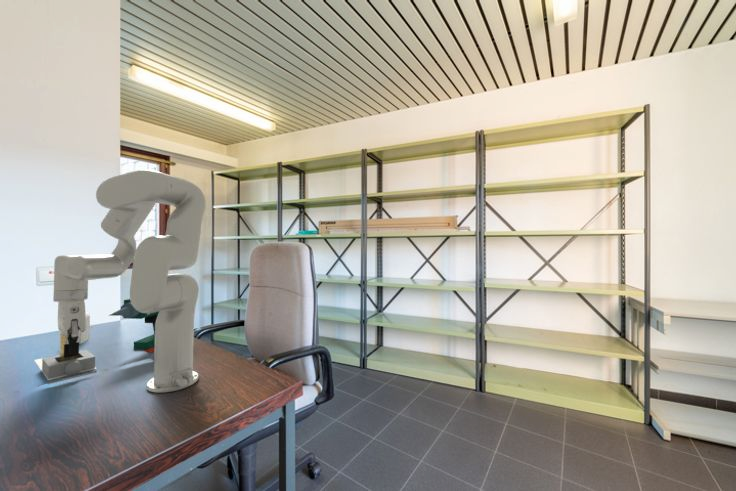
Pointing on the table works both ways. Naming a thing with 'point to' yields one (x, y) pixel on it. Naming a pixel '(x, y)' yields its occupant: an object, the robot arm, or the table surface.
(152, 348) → the power tool
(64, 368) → the grey slotted block
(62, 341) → the tan rectangular block
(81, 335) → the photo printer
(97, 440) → the table surface
